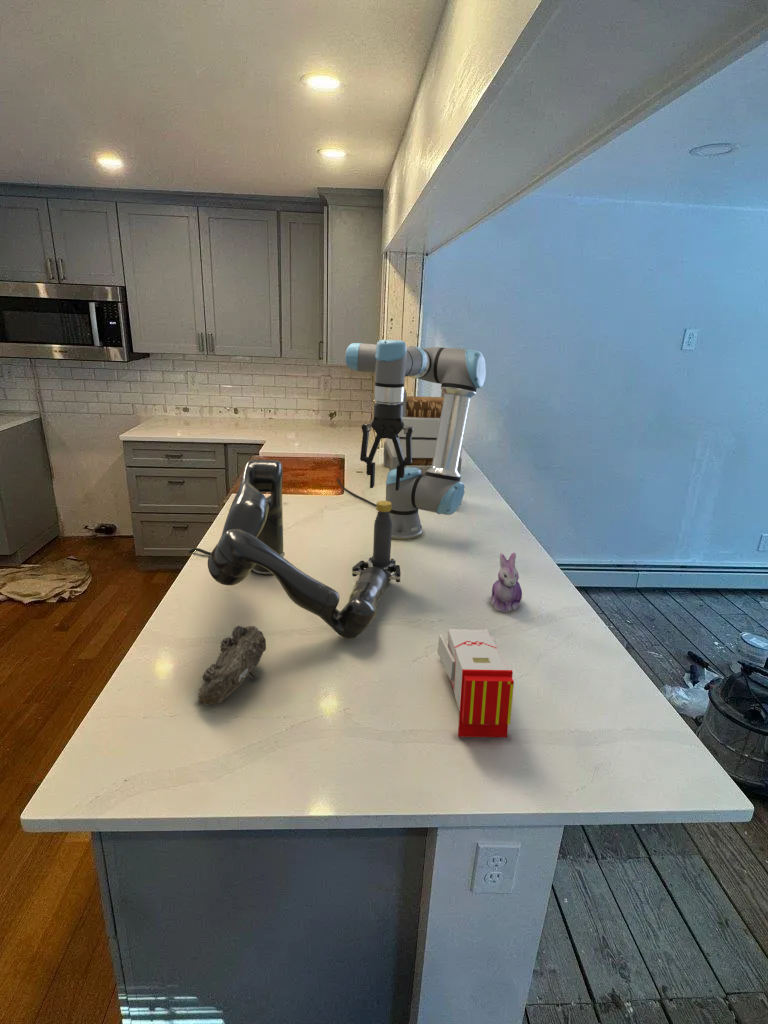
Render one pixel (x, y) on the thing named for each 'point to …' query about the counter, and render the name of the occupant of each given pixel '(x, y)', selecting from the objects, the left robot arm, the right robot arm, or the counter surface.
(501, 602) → the figurine
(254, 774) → the counter surface
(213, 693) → the fossil
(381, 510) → the cap
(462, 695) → the toy
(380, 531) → the bottle
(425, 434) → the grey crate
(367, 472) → the right robot arm
